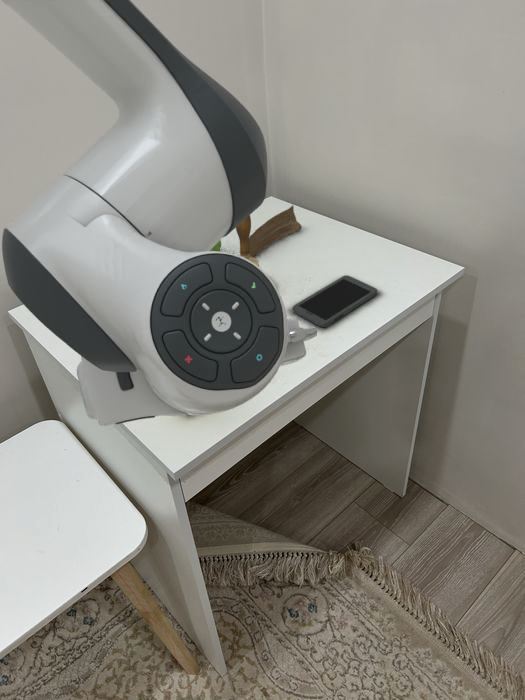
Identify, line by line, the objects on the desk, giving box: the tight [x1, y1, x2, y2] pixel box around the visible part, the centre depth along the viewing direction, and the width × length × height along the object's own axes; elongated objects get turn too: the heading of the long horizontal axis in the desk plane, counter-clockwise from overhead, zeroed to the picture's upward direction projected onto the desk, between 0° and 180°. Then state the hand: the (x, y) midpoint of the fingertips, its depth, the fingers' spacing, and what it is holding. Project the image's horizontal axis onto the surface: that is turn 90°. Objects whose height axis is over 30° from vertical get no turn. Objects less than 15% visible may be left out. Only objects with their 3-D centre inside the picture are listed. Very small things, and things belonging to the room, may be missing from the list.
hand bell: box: [235, 214, 260, 267], centre depth 91 cm, size 8×8×16 cm
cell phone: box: [292, 275, 379, 328], centre depth 91 cm, size 7×14×1 cm, turn 132°
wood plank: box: [249, 205, 302, 258], centre depth 107 cm, size 15×2×5 cm, turn 143°
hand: (191, 374), depth 56 cm, fingers open, 8 cm apart
